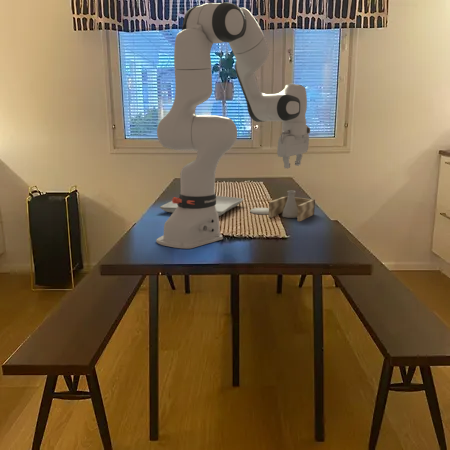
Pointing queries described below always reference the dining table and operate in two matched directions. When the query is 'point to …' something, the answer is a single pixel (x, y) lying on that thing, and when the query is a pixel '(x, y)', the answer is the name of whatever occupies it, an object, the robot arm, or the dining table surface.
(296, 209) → the flask
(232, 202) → the square plate
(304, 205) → the u-shaped wooden frame
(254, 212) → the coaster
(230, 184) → the dining table surface
